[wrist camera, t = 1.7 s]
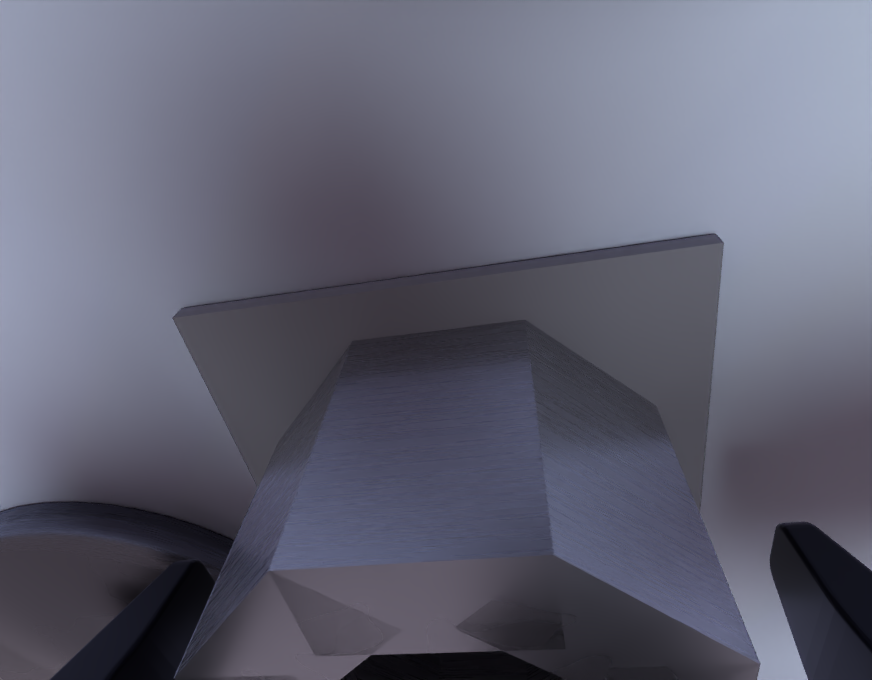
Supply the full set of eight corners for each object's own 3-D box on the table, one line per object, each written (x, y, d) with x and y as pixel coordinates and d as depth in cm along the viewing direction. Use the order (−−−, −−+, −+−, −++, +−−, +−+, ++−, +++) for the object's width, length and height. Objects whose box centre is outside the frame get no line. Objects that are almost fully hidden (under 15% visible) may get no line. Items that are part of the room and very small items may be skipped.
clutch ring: (652, 580, 11) (722, 834, 8) (346, 594, 12) (295, 826, 9) (659, 303, 8) (787, 541, 5) (239, 354, 9) (94, 580, 6)
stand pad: (687, 588, 12) (691, 601, 12) (325, 604, 13) (323, 616, 13) (715, 234, 8) (723, 242, 7) (181, 308, 9) (172, 317, 9)
